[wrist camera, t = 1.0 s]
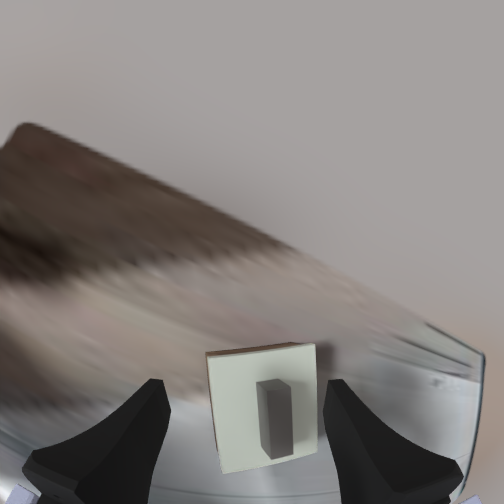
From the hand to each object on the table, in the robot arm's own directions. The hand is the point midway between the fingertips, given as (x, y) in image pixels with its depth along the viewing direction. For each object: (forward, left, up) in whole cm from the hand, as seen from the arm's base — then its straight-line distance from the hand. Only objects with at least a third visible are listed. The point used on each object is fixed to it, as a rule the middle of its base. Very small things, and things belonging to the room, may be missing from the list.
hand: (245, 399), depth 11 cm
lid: (-5, -4, -10) cm, 12 cm away
